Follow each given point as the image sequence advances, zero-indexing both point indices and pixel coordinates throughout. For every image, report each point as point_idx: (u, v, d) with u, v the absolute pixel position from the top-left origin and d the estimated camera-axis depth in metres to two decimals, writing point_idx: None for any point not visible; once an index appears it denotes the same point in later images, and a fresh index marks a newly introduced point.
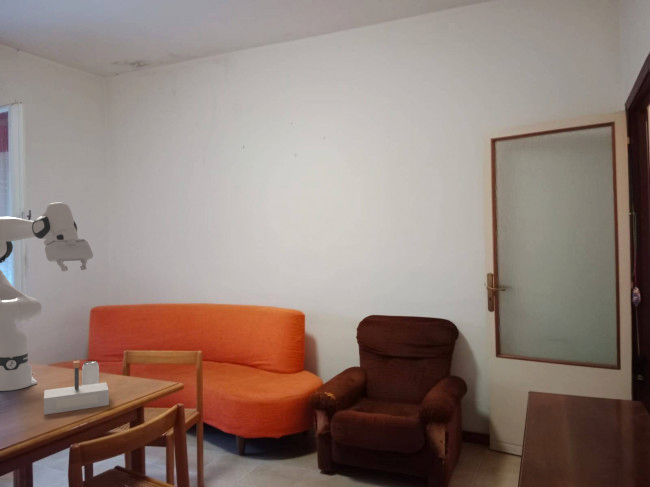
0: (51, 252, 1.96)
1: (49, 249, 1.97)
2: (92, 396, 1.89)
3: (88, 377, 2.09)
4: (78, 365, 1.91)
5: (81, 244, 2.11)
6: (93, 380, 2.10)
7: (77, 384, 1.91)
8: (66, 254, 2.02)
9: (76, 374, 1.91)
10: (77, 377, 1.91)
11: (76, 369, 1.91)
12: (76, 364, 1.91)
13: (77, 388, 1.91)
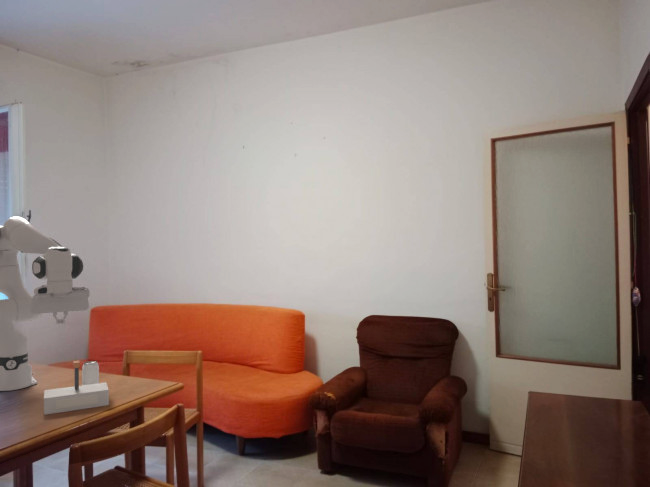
0: (30, 306, 1.87)
1: (31, 302, 1.88)
2: (92, 396, 1.89)
3: (88, 377, 2.09)
4: (78, 365, 1.91)
5: (75, 295, 1.94)
6: (93, 380, 2.10)
7: (77, 384, 1.91)
8: (50, 308, 1.90)
9: (76, 374, 1.91)
10: (77, 377, 1.91)
11: (76, 369, 1.91)
12: (76, 364, 1.91)
13: (77, 388, 1.91)
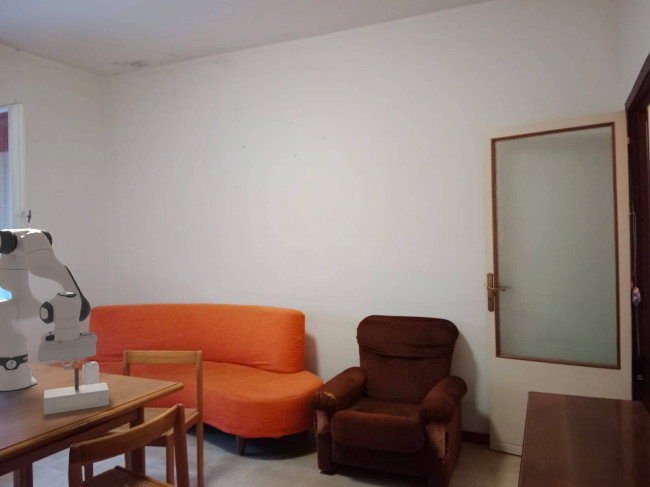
0: None
1: (38, 349, 1.86)
2: (92, 396, 1.89)
3: (88, 377, 2.09)
4: (78, 365, 1.91)
5: (82, 341, 1.92)
6: (93, 380, 2.10)
7: (77, 384, 1.91)
8: (57, 355, 1.88)
9: (76, 374, 1.91)
10: (77, 377, 1.91)
11: (76, 369, 1.91)
12: (76, 364, 1.91)
13: (77, 388, 1.91)
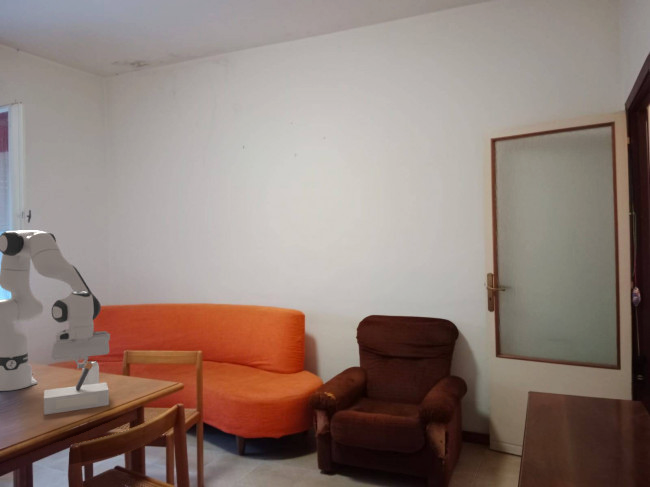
0: (52, 352, 1.87)
1: None
2: (92, 396, 1.89)
3: (88, 377, 2.09)
4: (90, 367, 1.93)
5: (95, 340, 1.94)
6: (93, 380, 2.10)
7: (80, 385, 1.92)
8: (71, 353, 1.90)
9: (84, 375, 1.92)
10: (83, 378, 1.92)
11: (86, 370, 1.93)
12: (89, 365, 1.93)
13: (78, 388, 1.91)
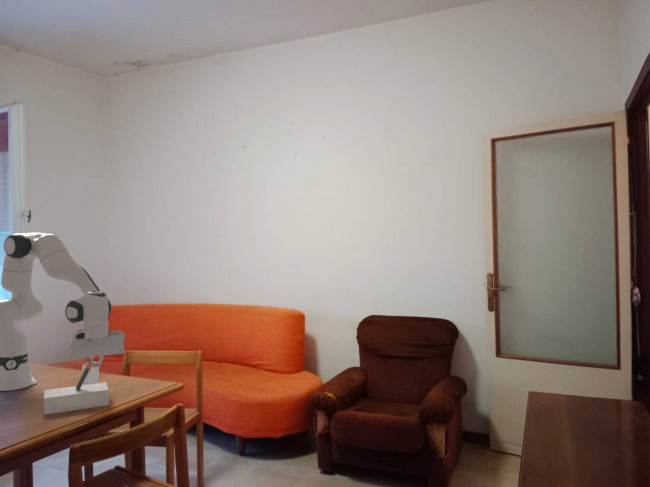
0: (68, 351, 1.90)
1: (69, 347, 1.91)
2: (92, 396, 1.89)
3: (88, 377, 2.09)
4: (90, 367, 1.93)
5: (111, 339, 1.97)
6: (93, 380, 2.10)
7: (80, 385, 1.92)
8: (87, 352, 1.93)
9: (84, 375, 1.92)
10: (83, 378, 1.92)
11: (86, 370, 1.93)
12: (89, 365, 1.93)
13: (78, 388, 1.91)
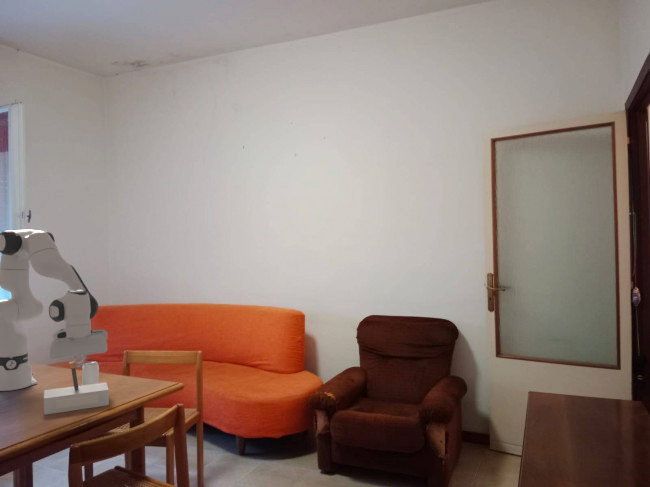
0: None
1: (50, 346, 1.87)
2: (92, 396, 1.89)
3: (88, 377, 2.09)
4: (74, 365, 1.91)
5: (93, 338, 1.94)
6: (93, 380, 2.10)
7: (76, 384, 1.91)
8: (69, 352, 1.89)
9: (74, 374, 1.91)
10: (75, 377, 1.91)
11: (73, 370, 1.91)
12: (72, 365, 1.90)
13: (77, 388, 1.91)
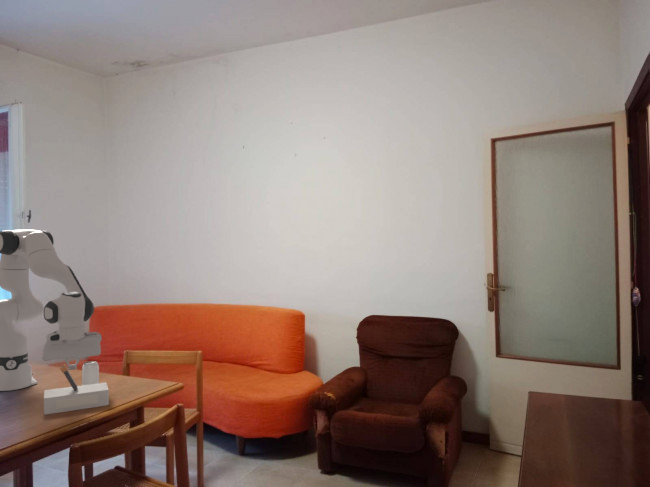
0: None
1: (43, 349, 1.86)
2: (92, 396, 1.89)
3: (88, 377, 2.09)
4: (65, 368, 1.89)
5: (87, 341, 1.93)
6: (93, 380, 2.10)
7: (74, 385, 1.91)
8: (62, 354, 1.88)
9: (68, 377, 1.90)
10: (70, 379, 1.90)
11: (65, 373, 1.89)
12: (63, 368, 1.89)
13: (76, 388, 1.91)
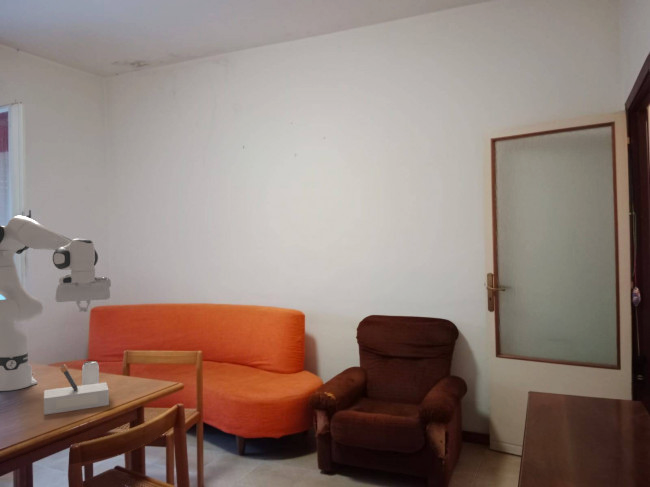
0: None
1: (56, 290, 1.97)
2: (92, 396, 1.89)
3: (88, 377, 2.09)
4: (65, 368, 1.89)
5: (97, 285, 2.04)
6: (93, 380, 2.10)
7: (74, 385, 1.91)
8: (74, 296, 1.99)
9: (68, 377, 1.90)
10: (70, 379, 1.90)
11: (65, 373, 1.89)
12: (63, 368, 1.89)
13: (76, 388, 1.91)
